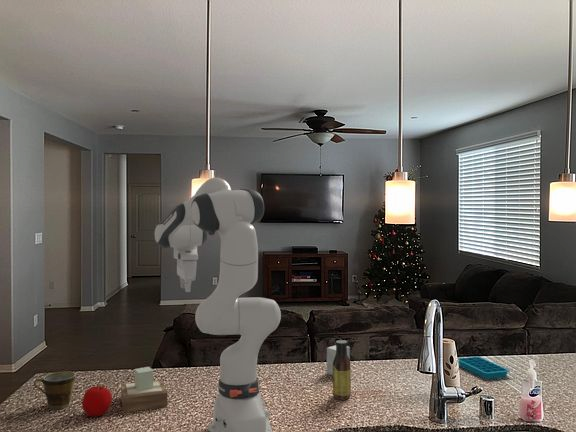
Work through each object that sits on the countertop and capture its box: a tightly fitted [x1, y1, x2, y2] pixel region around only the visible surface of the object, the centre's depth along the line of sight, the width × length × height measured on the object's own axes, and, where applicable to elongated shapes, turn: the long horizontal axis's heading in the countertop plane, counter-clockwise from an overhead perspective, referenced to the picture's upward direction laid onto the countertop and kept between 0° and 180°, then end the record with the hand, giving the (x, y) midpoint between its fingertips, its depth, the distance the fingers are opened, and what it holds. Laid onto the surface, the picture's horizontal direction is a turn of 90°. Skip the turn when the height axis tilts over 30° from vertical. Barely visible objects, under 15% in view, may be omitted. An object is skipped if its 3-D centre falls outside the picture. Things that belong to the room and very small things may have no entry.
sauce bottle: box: [332, 339, 352, 401], centre depth 177 cm, size 7×6×20 cm
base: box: [120, 378, 168, 413], centre depth 173 cm, size 14×14×5 cm
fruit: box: [81, 382, 113, 418], centre depth 163 cm, size 9×9×10 cm
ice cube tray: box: [457, 356, 510, 380], centre depth 207 cm, size 12×20×3 cm, turn 16°
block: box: [134, 366, 154, 391], centre depth 173 cm, size 5×5×6 cm
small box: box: [326, 344, 351, 376], centre depth 204 cm, size 8×6×10 cm
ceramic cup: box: [33, 370, 77, 410], centre depth 169 cm, size 13×10×10 cm
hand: (185, 289), depth 193 cm, fingers open, 8 cm apart
